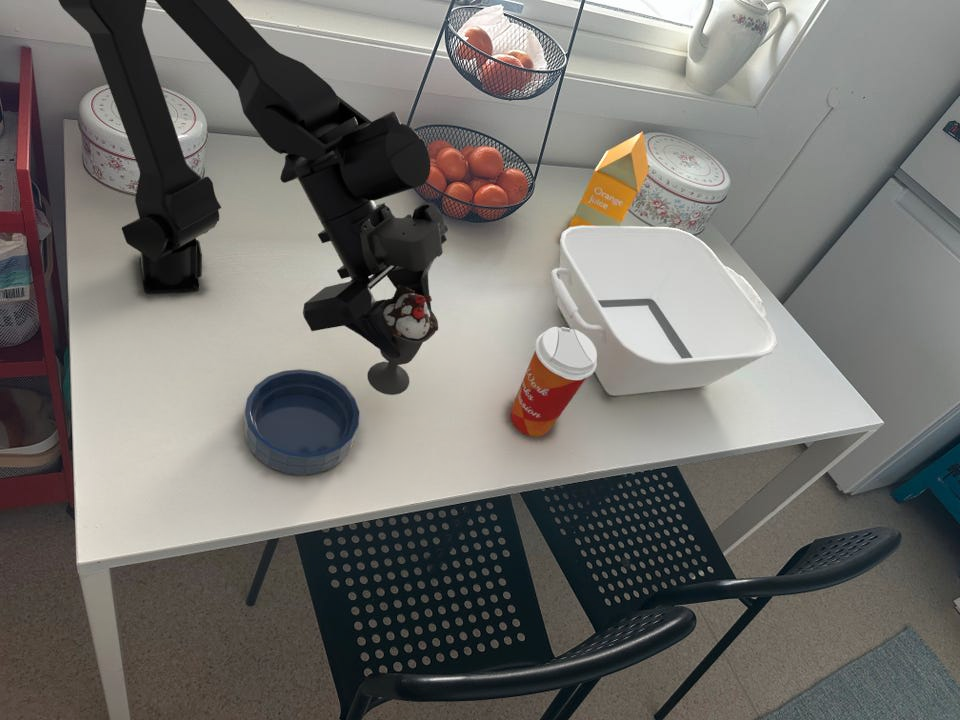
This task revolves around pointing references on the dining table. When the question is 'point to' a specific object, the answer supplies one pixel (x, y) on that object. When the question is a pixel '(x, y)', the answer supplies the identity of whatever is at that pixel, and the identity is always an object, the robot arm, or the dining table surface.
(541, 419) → the paper cup
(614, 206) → the orange juice
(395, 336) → the sundae
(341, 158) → the robot arm
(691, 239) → the tub
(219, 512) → the dining table surface
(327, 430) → the bowl
